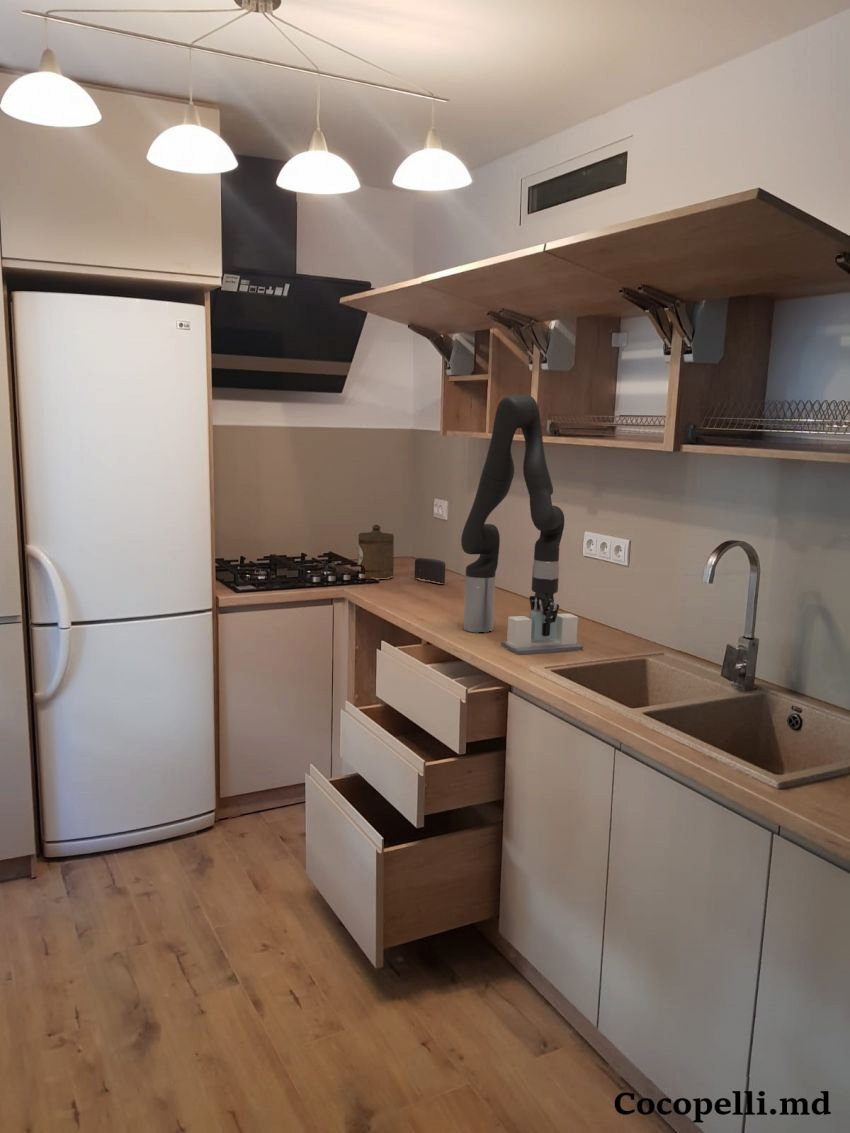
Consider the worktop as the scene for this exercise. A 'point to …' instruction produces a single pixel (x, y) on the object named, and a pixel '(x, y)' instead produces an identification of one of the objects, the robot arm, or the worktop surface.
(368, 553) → the wooden container
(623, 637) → the worktop surface
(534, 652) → the board
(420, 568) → the upright dark grey panel
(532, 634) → the block
